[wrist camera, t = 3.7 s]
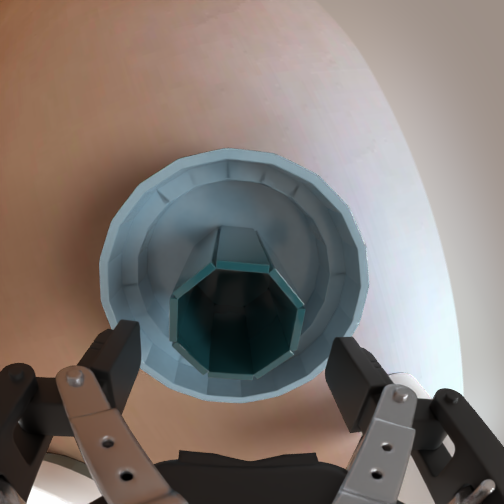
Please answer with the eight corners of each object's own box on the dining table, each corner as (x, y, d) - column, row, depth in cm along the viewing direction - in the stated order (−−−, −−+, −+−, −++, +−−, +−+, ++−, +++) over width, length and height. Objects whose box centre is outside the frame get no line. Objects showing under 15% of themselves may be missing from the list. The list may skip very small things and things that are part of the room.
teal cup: (280, 231, 22) (313, 268, 13) (269, 309, 24) (290, 381, 15) (194, 222, 21) (171, 255, 13) (188, 303, 23) (169, 373, 14)
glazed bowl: (351, 173, 22) (389, 174, 16) (315, 360, 26) (334, 402, 20) (135, 148, 20) (104, 141, 15) (131, 345, 24) (111, 387, 18)
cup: (340, 404, 28) (397, 530, 12) (406, 359, 27) (494, 465, 11) (367, 436, 30) (416, 539, 14) (424, 398, 29) (491, 488, 13)
